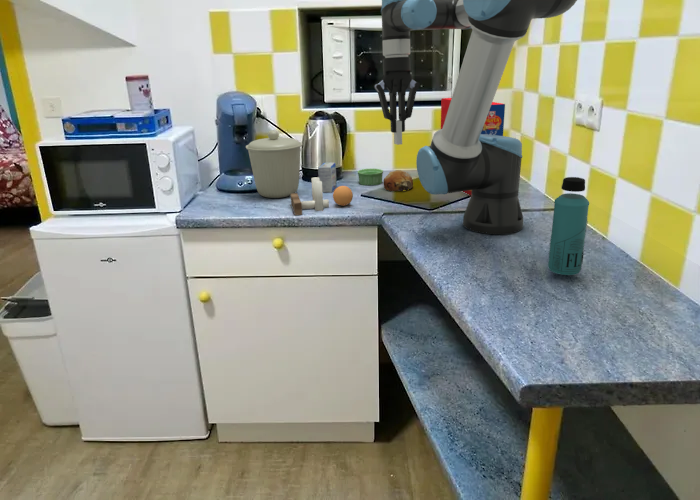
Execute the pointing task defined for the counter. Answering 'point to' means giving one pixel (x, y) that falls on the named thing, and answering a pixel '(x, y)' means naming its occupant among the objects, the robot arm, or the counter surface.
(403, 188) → the bread roll
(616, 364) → the counter surface
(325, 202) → the pin front
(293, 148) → the canister
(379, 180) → the ramekin
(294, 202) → the back rail
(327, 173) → the medicine box
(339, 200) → the ball
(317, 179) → the pin
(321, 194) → the pin
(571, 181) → the beverage bottle
